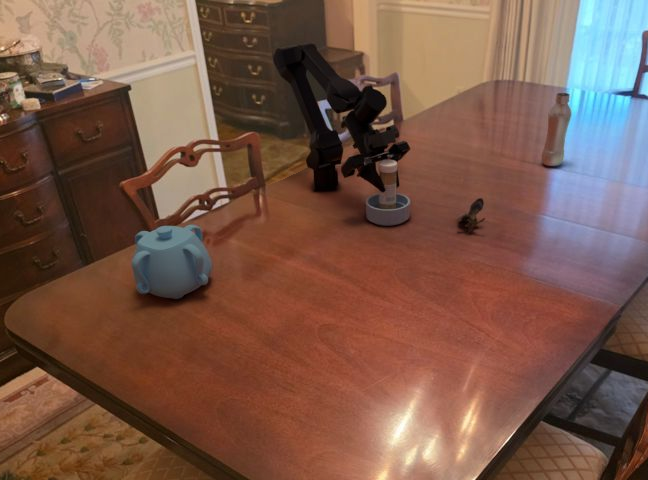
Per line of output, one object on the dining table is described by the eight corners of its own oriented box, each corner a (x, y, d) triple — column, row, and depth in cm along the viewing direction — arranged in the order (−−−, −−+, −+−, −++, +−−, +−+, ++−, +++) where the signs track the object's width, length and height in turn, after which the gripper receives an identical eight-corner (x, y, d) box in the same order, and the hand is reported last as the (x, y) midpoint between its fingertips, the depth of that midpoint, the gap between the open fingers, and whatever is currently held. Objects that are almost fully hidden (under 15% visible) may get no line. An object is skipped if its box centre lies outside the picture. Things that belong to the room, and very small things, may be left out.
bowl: (367, 228, 155) (367, 211, 152) (365, 209, 164) (364, 193, 161) (412, 226, 155) (412, 209, 152) (407, 207, 164) (407, 191, 161)
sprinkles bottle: (395, 209, 161) (396, 158, 152) (396, 217, 157) (398, 165, 149) (378, 209, 161) (378, 159, 152) (378, 217, 157) (379, 165, 149)
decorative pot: (211, 302, 129) (200, 243, 121) (133, 308, 128) (116, 249, 120) (216, 264, 142) (206, 209, 134) (145, 270, 141) (131, 214, 133)
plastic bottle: (538, 167, 184) (549, 96, 171) (542, 159, 188) (553, 90, 176) (560, 169, 182) (573, 98, 169) (563, 162, 186) (576, 92, 174)
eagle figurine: (492, 229, 149) (490, 208, 155) (479, 208, 145) (476, 187, 151) (464, 243, 153) (462, 221, 159) (450, 223, 149) (449, 202, 155)
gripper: (346, 123, 142) (377, 183, 142) (406, 107, 151) (435, 164, 151) (328, 148, 152) (356, 205, 152) (385, 132, 161) (412, 185, 161)
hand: (391, 189), depth 154 cm, fingers closed on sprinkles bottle, 4 cm apart
